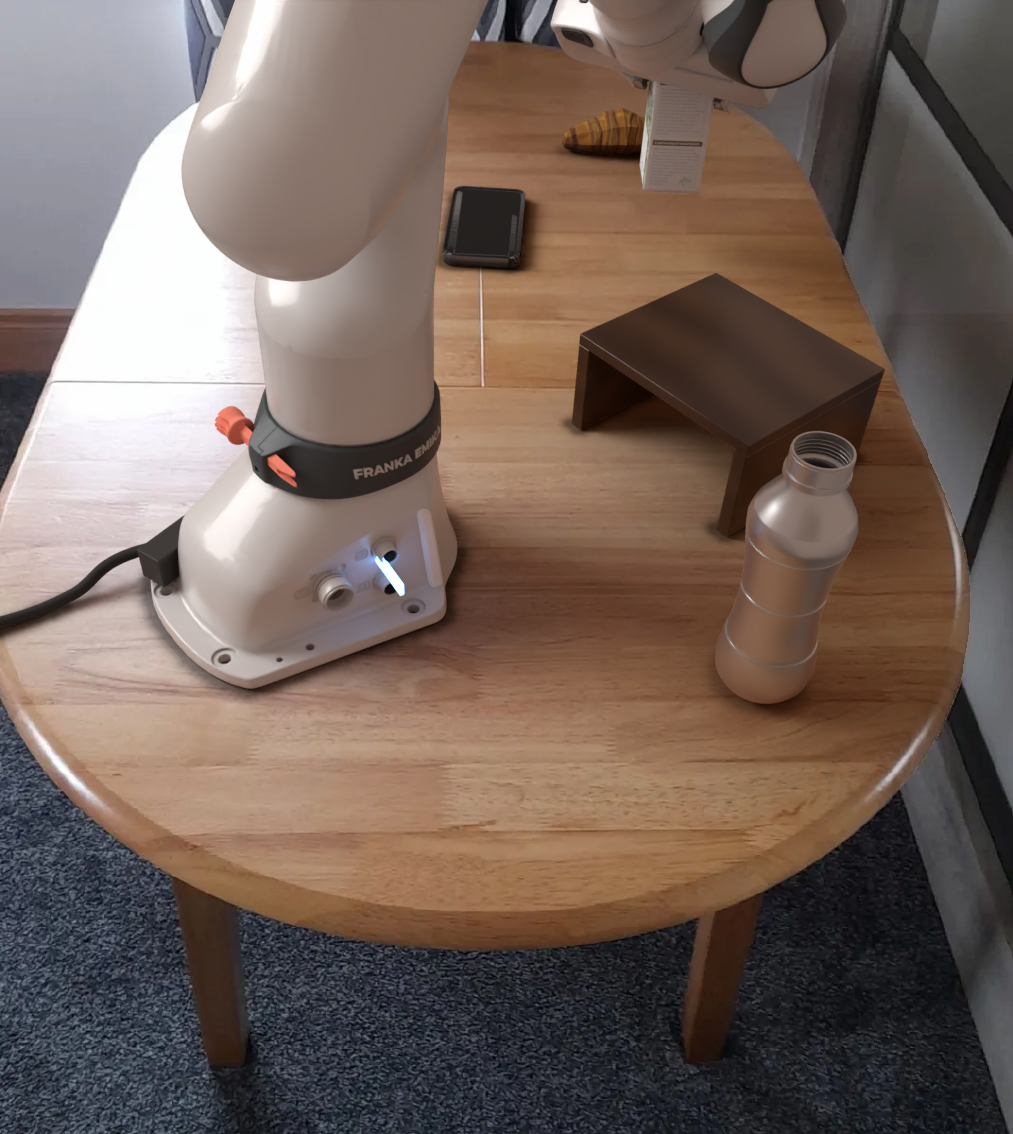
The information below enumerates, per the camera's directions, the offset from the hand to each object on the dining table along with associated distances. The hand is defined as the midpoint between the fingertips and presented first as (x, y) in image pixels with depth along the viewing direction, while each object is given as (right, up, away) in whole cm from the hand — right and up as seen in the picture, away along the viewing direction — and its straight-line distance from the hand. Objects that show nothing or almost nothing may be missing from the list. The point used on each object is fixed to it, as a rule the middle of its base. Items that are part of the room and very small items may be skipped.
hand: (682, 92), depth 110 cm
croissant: (-3, +4, +28) cm, 29 cm away
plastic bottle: (+1, -53, -30) cm, 61 cm away
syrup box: (-1, -7, +6) cm, 9 cm away
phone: (-19, -10, +13) cm, 25 cm away
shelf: (+1, -34, -11) cm, 36 cm away
